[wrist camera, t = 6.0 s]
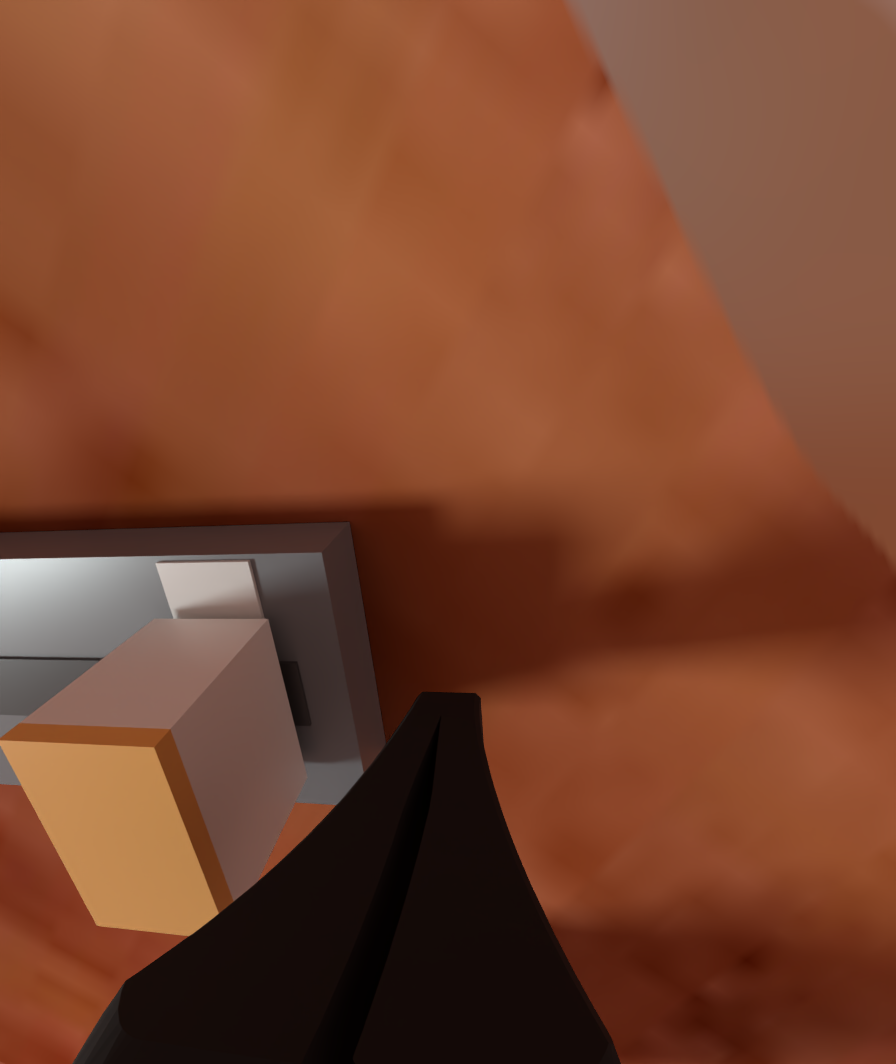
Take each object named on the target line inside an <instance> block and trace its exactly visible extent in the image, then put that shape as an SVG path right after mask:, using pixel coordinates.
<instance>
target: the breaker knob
mask: <svg viewBox="0 0 896 1064" xmlns="http://www.w3.org/2000/svg"><path fill="white" fill-rule="evenodd" d="M0 746H1V748H2V750H3V752H4V754H5V756H6V757H7V759H8V761H9V763H10V765H11V767H12V769H13V770H14V772H15V774H16V776H17V778H18V780H19V782H20V783H21V785H22V787H23V789H24V791H25V793H26V795H27V796H28V798H29V800H30V802H31V804H32V806H33V808H34V809H35V811H36V813H37V815H38V817H39V819H40V821H41V822H42V824H43V826H44V828H45V830H46V832H47V834H48V835H49V837H50V839H51V841H52V843H53V845H54V847H55V848H56V850H57V852H58V854H59V856H60V858H61V860H62V861H63V863H64V865H65V867H66V869H67V871H68V873H69V874H70V876H71V878H72V880H73V882H74V884H75V886H76V888H77V889H78V891H79V893H80V895H81V897H82V899H83V901H84V902H85V904H86V906H87V908H88V910H89V912H90V914H91V915H92V917H93V919H94V921H95V923H96V925H97V926H104V927H113V928H122V929H131V930H140V931H149V932H158V933H167V934H176V935H185V936H190V935H192V934H193V933H194V932H196V931H197V930H198V929H200V928H201V927H202V926H204V925H205V924H206V923H208V922H209V921H210V920H211V919H213V918H214V917H215V916H216V915H218V914H219V913H220V912H221V911H222V910H224V909H225V908H226V907H227V906H229V905H230V904H231V903H232V902H233V901H235V900H236V899H237V898H238V897H240V896H241V895H242V894H243V893H244V892H246V891H247V890H248V889H249V888H251V887H252V886H253V885H254V884H255V883H257V881H258V879H259V877H260V875H261V873H262V871H263V869H264V867H265V865H266V863H267V861H268V858H269V856H270V854H271V852H272V850H273V848H274V846H275V844H276V842H277V840H278V838H279V835H280V833H281V831H282V829H283V827H284V825H285V823H286V821H287V819H288V817H289V815H290V812H291V810H292V808H293V806H294V804H295V802H296V800H297V798H298V796H299V794H300V792H301V789H302V787H303V785H304V783H305V781H306V779H307V773H306V769H305V765H304V761H303V757H302V753H301V749H300V745H299V741H298V737H297V733H296V729H295V725H294V721H293V717H292V713H291V709H290V705H289V701H288V697H287V693H286V689H285V685H284V681H283V677H282V673H281V669H280V664H279V660H278V656H277V652H276V648H275V644H274V640H273V636H272V632H271V628H270V624H269V620H268V619H153V620H152V621H151V622H149V623H148V624H147V625H145V626H144V627H143V628H142V629H140V630H139V631H138V632H136V633H135V634H134V635H133V636H131V637H130V638H129V639H127V640H126V641H125V642H123V643H122V644H121V645H120V646H118V647H117V648H116V649H114V650H113V651H112V652H111V653H109V654H108V655H107V656H105V657H104V658H103V659H102V660H100V661H99V662H98V663H96V664H95V665H94V666H92V667H91V668H90V669H89V670H87V671H86V672H85V673H83V674H82V675H81V676H80V677H78V678H77V679H76V680H74V681H73V682H72V683H70V684H69V685H68V686H67V687H65V688H64V689H63V690H61V691H60V692H59V693H58V694H56V695H55V696H54V697H52V698H51V699H50V700H49V701H47V702H46V703H45V704H43V705H42V706H41V707H39V708H38V709H37V710H36V711H34V712H33V713H32V714H30V715H29V716H28V717H27V718H25V719H24V720H23V721H21V722H20V723H19V724H17V725H16V726H15V727H14V728H12V729H11V730H10V731H8V732H7V733H6V734H5V735H3V736H2V737H1V738H0Z"/></svg>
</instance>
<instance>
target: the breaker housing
mask: <svg viewBox="0 0 896 1064" xmlns="http://www.w3.org/2000/svg"><path fill="white" fill-rule="evenodd" d="M153 619H268V620H269V624H270V628H271V632H272V636H273V640H274V644H275V648H276V652H277V656H278V660H279V664H280V669H281V673H282V677H283V681H284V685H285V689H286V693H287V697H288V701H289V705H290V709H291V713H292V717H293V721H294V725H295V729H296V733H297V737H298V741H299V745H300V749H301V753H302V757H303V761H304V765H305V769H306V773H307V779H306V781H305V783H304V785H303V787H302V789H301V792H300V794H299V796H298V798H297V800H296V802H299V803H315V804H331V805H337V804H338V803H339V802H340V801H341V799H342V798H343V797H344V796H345V795H346V794H347V793H348V791H349V790H350V789H351V788H352V786H353V785H354V784H355V783H356V782H357V780H358V779H359V778H360V777H361V776H362V774H363V773H364V772H365V771H366V770H367V768H368V767H369V766H370V765H371V763H372V762H373V761H374V759H375V758H376V757H377V755H378V754H379V753H380V751H381V750H382V749H383V747H384V746H385V745H386V740H385V734H384V728H383V722H382V716H381V710H380V704H379V698H378V692H377V686H376V679H375V673H374V667H373V661H372V655H371V649H370V643H369V637H368V631H367V625H366V619H365V612H364V606H363V600H362V594H361V588H360V582H359V576H358V570H357V564H356V558H355V552H354V546H353V539H352V533H351V527H350V522H328V523H296V524H263V525H231V526H199V527H167V528H134V529H102V530H70V531H37V532H5V533H0V738H1V737H2V736H3V735H5V734H6V733H7V732H8V731H10V730H11V729H12V728H14V727H15V726H16V725H17V724H19V723H20V722H21V721H23V720H24V719H25V718H27V717H28V716H29V715H30V714H32V713H33V712H34V711H36V710H37V709H38V708H39V707H41V706H42V705H43V704H45V703H46V702H47V701H49V700H50V699H51V698H52V697H54V696H55V695H56V694H58V693H59V692H60V691H61V690H63V689H64V688H65V687H67V686H68V685H69V684H70V683H72V682H73V681H74V680H76V679H77V678H78V677H80V676H81V675H82V674H83V673H85V672H86V671H87V670H89V669H90V668H91V667H92V666H94V665H95V664H96V663H98V662H99V661H100V660H102V659H103V658H104V657H105V656H107V655H108V654H109V653H111V652H112V651H113V650H114V649H116V648H117V647H118V646H120V645H121V644H122V643H123V642H125V641H126V640H127V639H129V638H130V637H131V636H133V635H134V634H135V633H136V632H138V631H139V630H140V629H142V628H143V627H144V626H145V625H147V624H148V623H149V622H151V621H152V620H153ZM0 784H10V785H21V783H20V782H19V780H18V778H17V776H16V774H15V772H14V770H13V769H12V767H11V765H10V763H9V761H8V759H7V757H6V756H5V754H4V752H3V750H2V748H1V746H0Z"/></svg>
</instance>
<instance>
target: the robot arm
mask: <svg viewBox="0 0 896 1064" xmlns="http://www.w3.org/2000/svg"><path fill="white" fill-rule="evenodd" d="M72 1064H621V1063H620V1060H619V1058H618V1055H617V1052H616V1049H615V1046H614V1044H613V1041H612V1038H611V1037H610V1035H609V1033H608V1031H607V1029H606V1028H605V1026H604V1024H603V1022H602V1021H601V1019H600V1017H599V1015H598V1014H597V1012H596V1010H595V1009H594V1007H593V1005H592V1003H591V1002H590V1000H589V998H588V996H587V994H586V993H585V991H584V989H583V987H582V985H581V984H580V982H579V980H578V978H577V976H576V974H575V973H574V971H573V969H572V967H571V965H570V963H569V961H568V959H567V957H566V955H565V953H564V952H563V950H562V948H561V946H560V944H559V942H558V940H557V938H556V936H555V934H554V932H553V930H552V928H551V926H550V924H549V922H548V919H547V917H546V915H545V913H544V911H543V909H542V907H541V905H540V903H539V901H538V898H537V896H536V894H535V892H534V890H533V888H532V886H531V884H530V881H529V879H528V877H527V874H526V872H525V870H524V867H523V865H522V862H521V860H520V858H519V855H518V853H517V850H516V848H515V845H514V843H513V840H512V838H511V835H510V832H509V830H508V827H507V824H506V821H505V819H504V816H503V813H502V810H501V807H500V804H499V801H498V797H497V794H496V791H495V788H494V785H493V781H492V778H491V774H490V770H489V766H488V762H487V758H486V754H485V749H484V742H483V727H482V713H481V698H480V697H479V696H478V695H477V694H476V693H447V692H422V693H421V694H420V695H419V696H418V697H417V699H416V700H415V702H414V704H413V705H412V707H411V708H410V710H409V712H408V713H407V715H406V716H405V718H404V719H403V721H402V722H401V724H400V725H399V726H398V728H397V729H396V731H395V732H394V734H393V735H392V736H391V738H390V739H389V741H388V742H387V743H386V745H385V746H384V747H383V749H382V750H381V751H380V753H379V754H378V755H377V757H376V758H375V759H374V761H373V762H372V763H371V765H370V766H369V767H368V768H367V770H366V771H365V772H364V773H363V774H362V776H361V777H360V778H359V779H358V780H357V782H356V783H355V784H354V785H353V786H352V788H351V789H350V790H349V791H348V793H347V794H346V795H345V796H344V797H343V798H342V799H341V801H340V802H339V803H338V804H337V805H336V806H335V807H334V808H333V810H332V811H331V812H330V813H329V814H328V815H327V816H326V817H325V818H324V819H323V820H322V821H321V822H320V823H319V824H318V825H317V826H316V827H315V828H314V829H313V830H312V832H311V833H310V834H309V835H308V836H307V837H306V838H305V839H303V840H302V841H301V842H300V843H299V844H298V845H297V846H296V847H295V848H294V849H293V850H292V851H291V852H290V853H289V854H288V855H287V856H286V857H285V858H283V859H282V860H281V861H280V862H279V863H278V864H277V865H276V866H275V867H274V868H273V869H271V870H270V871H269V872H268V873H267V874H266V875H265V876H264V877H262V878H261V879H260V880H259V881H258V882H257V883H255V884H254V885H253V886H252V887H251V888H249V889H248V890H247V891H246V892H244V893H243V894H242V895H241V896H240V897H238V898H237V899H236V900H235V901H233V902H232V903H231V904H230V905H229V906H227V907H226V908H225V909H224V910H222V911H221V912H220V913H219V914H218V915H216V916H215V917H214V918H213V919H211V920H210V921H209V922H208V923H206V924H205V925H204V926H202V927H201V928H200V929H198V930H197V931H196V932H194V933H193V934H192V935H190V936H189V937H187V938H186V939H185V940H183V941H182V942H180V943H179V944H178V945H176V946H175V947H173V948H172V949H171V950H169V951H168V952H166V953H165V954H164V955H162V956H161V957H159V958H158V959H157V960H155V961H154V962H152V963H151V964H150V965H148V966H147V967H145V968H144V969H143V970H141V971H140V972H138V973H137V974H135V975H134V976H132V977H131V978H129V979H128V980H126V981H125V982H124V984H123V985H122V987H121V988H120V990H119V991H118V993H117V994H116V996H115V997H114V999H113V1000H112V1001H111V1003H110V1004H109V1006H108V1007H107V1009H106V1010H105V1011H104V1013H103V1014H102V1016H101V1018H100V1019H99V1021H98V1022H97V1024H96V1026H95V1027H94V1029H93V1031H92V1032H91V1034H90V1036H89V1037H88V1039H87V1040H86V1042H85V1044H84V1045H83V1047H82V1049H81V1050H80V1052H79V1054H78V1055H77V1057H76V1059H75V1060H74V1062H73V1063H72Z"/></svg>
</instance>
